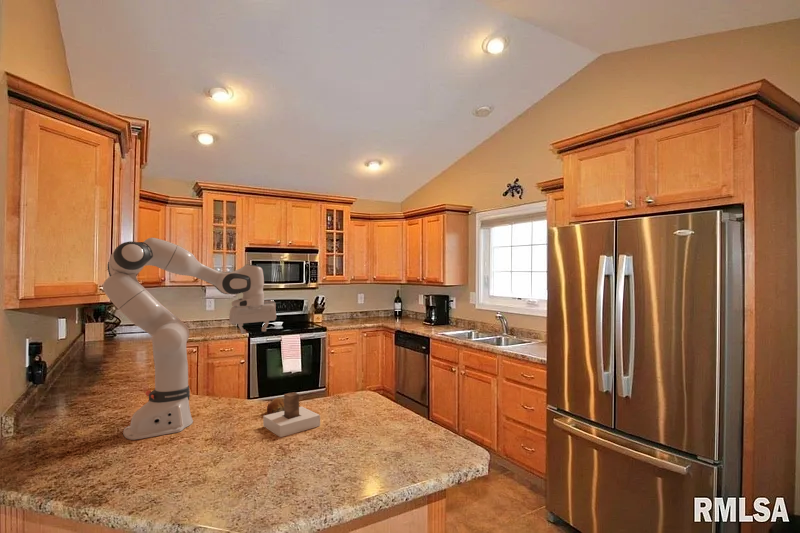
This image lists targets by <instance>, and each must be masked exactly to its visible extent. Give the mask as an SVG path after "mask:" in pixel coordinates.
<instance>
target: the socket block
mask: <svg viewBox="0 0 800 533" xmlns="http://www.w3.org/2000/svg"><path fill="white" fill-rule="evenodd" d="M262 416H263V417H262V418H263V420H262V421H263V422H262V423H263V424H262V425H263V426H264V428H265V427H266V428H265V429H267V430H268V431H269V432H271V433H273V434H274V435H276V436H277V437H279V438H284V437H287V436H290V435H293V434H296V433H300V432H304V431H307V430H310V429H314V428H317V427H321V414H319V413H316V412H314V411H312V410H310V409H308V408H306V407H304V406H299V416H298V417H295V418H291V419H287V418H286V417H284V411H281V412H277V413H273V414H269V415H268V414H266V415H265V414H264V415H262Z"/></svg>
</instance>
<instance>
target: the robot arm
mask: <svg viewBox="0 0 800 533" xmlns="http://www.w3.org/2000/svg"><path fill="white" fill-rule="evenodd" d="M145 266H146V267H147V266H150V267H151V266H152V267H156V268H158V269H161V270H164V271H166V272H168V273H172V274H175V275H179V276H187V277H188V276H189V277H192V278H193V277H194V278H197V279H199V280H201V281H204V282H206V283H208V284H210V285H212V286H214V287H215V288H216V290H218V292H220V293H221V294H224V295H231V296H232V295H239V294H242V297H241V298H238V299H235V300H233V301H231V308H230V310H229V320H228V321H229V323H230V324H232V325H237V326H238V328H239V329H240V334H241V335H245V334H246V333H247V332H246V329H244V327H243V326H244V324H249V323H250V324H251V323H260V322H261V323H262V322H263V324H264V325H263V326H262V327H261V332H267V327H268V326H269V323H270V321H276V319H277V311H276V307H277V305H276V304H277V303H276V302H275V301H274V300H272V299H271V300H265V292H264V286H265V278H264V270H263V268H262V267H261V266H259V265H255V264H244V266H242V267H240V268H239V269H235V270H234V271H220V270H217V269H214V268H211V267H210V266H207V265H205V264H203V263H201V262H200V261H199V260H198V259H197V258H196V256H195V255H194V254H193V253H192V252H191V251H189V250H187V249H186V248H184V247H182V246H180V245H178V244H176V243H173V242H171V241H167V240H166V239H165V240H164V239H161V238H156V237H149V238H147V239H144V241H138V242H137V241H125V242H122V243H120V244H119V245H118V246H116V248H115V249H114V250H113V252H112V253H111V254H110V257H109V260H108V262H107V272H108V276H109V277H107V278H106V279H105V281H104V282H103V284H102V291H103V292H104V293H105V295H106V296H107V298H108V299H109V301H110V302H112V304H113V305H114V306H115V307H116V308H117V309H118V310H119V311H120V312H121V313H122V314H123V315H124V316H125V317H126V318H127V319H128V320H129V321H131V322H132V323H133V324H134V325H135V326H136V327H138V328H140V329H141V330H143V331H144V332H145V333H147V334H149V335H150V336H151V337H152V338H151V343H152V344H151V345H152V355H153V362H154V390H150V389H148V390H146V392H145V396H147V397H148V401H147V402H146V403H145V404H144V405H142V406H141V407H140V408H139V409H137V410H136V411H135V412H134V413H133V415H132V417H131V421H130V425H128V426H126V427H125V428H124V429H123V433H122V435H123V436H124V438H126V439H127V440H131V441H134V440H140V439H146V438H152V437H157V436H164V435H168V434H169V435H170V434H174V433H179V432H182V431H183V430H184V429H185V428H187V427H189V426H191V425H192V424H193V422H194V420H193V417H192V414H191V409H190V398H191V397H190V396H191V392H190V391H191V390H190V385H189V363H188V354H187V353H188V352H187V342H188V341H189V338H190V330H189V327H188V326H187V324H185V323H184V322H183V321H182V320H181V319H180V318H178V316H176V314H173V312H171V311H170V310H169V309H168V308H167V307H165V306H164V305H163V304H162V303H161V302H160V301H159V300H157V298H155V297H154V296H153V294H151V292H149V290H147V289H146V288H145V287H144V286H143V285H142V284H141V283H140V281H139V280H138V278H137V276H138V275H139V274H140V272H141V271H142V270H143V269H144V267H145Z"/></svg>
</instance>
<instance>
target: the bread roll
mask: <svg viewBox="0 0 800 533" xmlns="http://www.w3.org/2000/svg"><path fill="white" fill-rule="evenodd" d="M281 411H284V397H275V398H274V399H273V400H271V401H270V402H269V403H268V405H267V406H266V415H269V414H273V413H277V412H281Z"/></svg>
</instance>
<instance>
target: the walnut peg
mask: <svg viewBox="0 0 800 533" xmlns="http://www.w3.org/2000/svg"><path fill="white" fill-rule="evenodd" d="M283 398H284V417H286V418H287V419H291V418H295V417H298V416H299V407H300V394H299V393H297V392H295V391H294V392H288V393H284V394H283Z"/></svg>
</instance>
